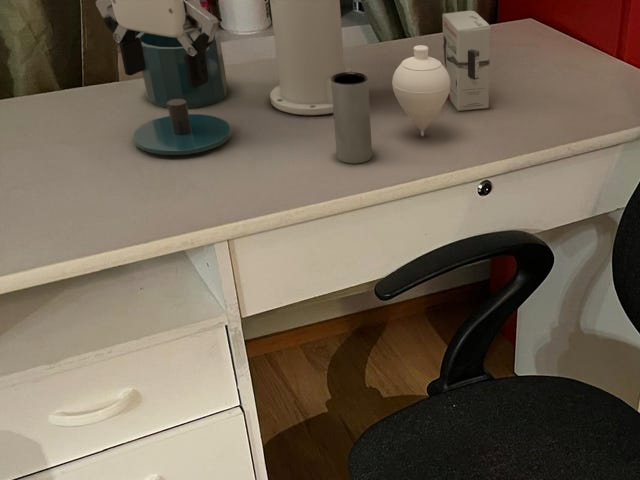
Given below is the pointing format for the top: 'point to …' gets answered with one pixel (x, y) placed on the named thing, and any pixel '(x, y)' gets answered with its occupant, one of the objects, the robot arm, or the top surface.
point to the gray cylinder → (351, 117)
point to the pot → (180, 72)
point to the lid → (181, 132)
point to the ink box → (467, 59)
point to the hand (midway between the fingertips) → (167, 78)
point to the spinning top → (421, 87)
